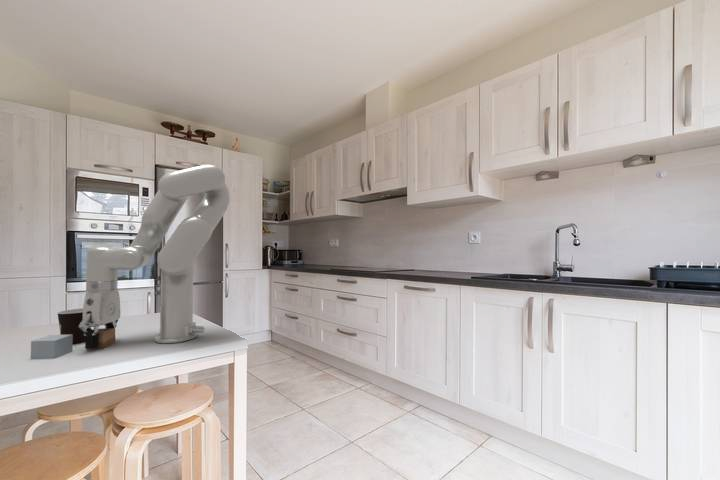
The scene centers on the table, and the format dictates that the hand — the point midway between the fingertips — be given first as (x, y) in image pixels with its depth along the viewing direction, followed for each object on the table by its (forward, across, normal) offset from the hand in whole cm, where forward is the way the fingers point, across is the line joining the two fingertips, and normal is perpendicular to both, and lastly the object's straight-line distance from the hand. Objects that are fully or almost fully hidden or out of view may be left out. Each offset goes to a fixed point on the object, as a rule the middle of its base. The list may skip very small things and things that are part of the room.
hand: (100, 344), depth 96 cm
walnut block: (+1, 0, 0) cm, 1 cm away
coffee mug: (+1, +7, +12) cm, 14 cm away
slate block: (+1, -7, +8) cm, 11 cm away
